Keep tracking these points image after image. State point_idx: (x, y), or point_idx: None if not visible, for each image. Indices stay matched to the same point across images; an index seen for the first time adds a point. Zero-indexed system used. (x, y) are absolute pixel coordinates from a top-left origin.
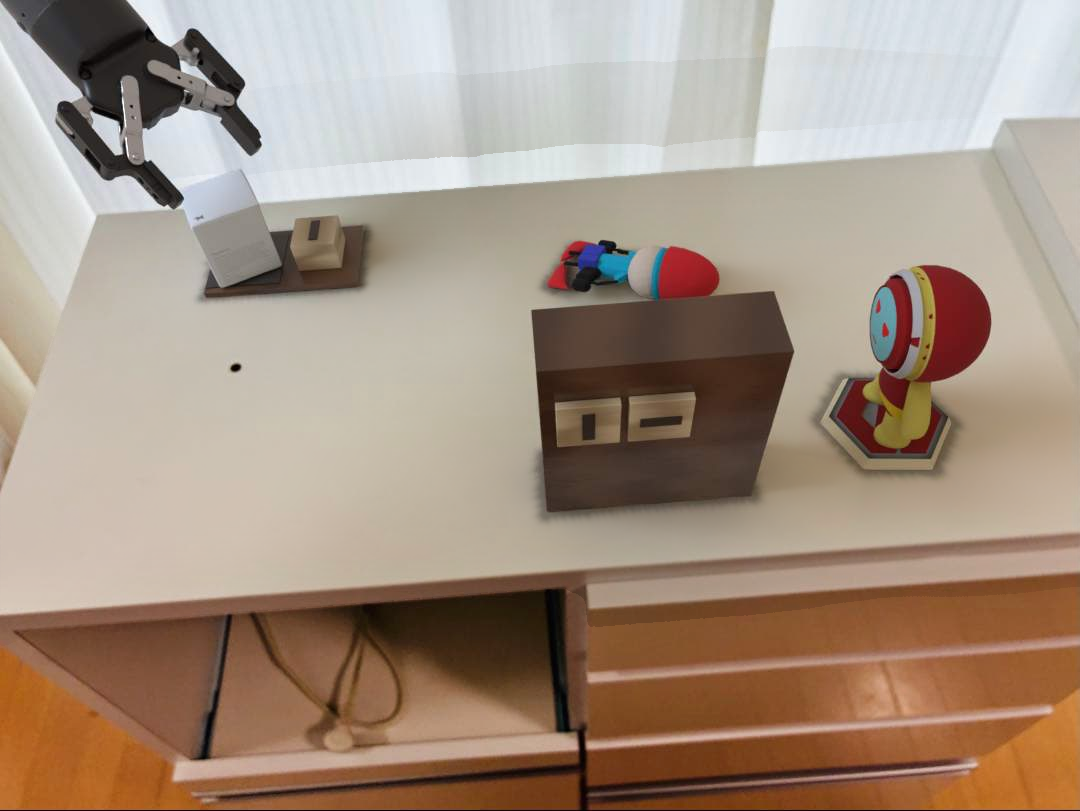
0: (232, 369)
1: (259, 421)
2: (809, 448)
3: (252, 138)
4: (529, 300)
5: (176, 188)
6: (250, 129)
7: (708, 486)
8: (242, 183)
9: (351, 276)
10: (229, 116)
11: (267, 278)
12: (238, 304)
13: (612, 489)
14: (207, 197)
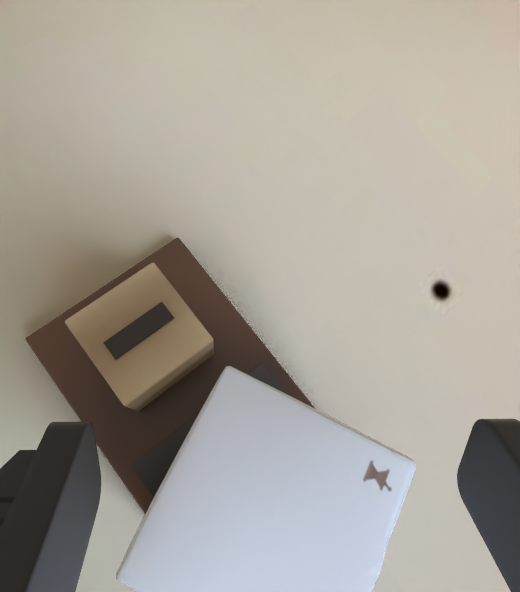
0: (447, 293)
1: (478, 185)
2: None
3: (66, 441)
4: (62, 3)
5: (502, 443)
6: (28, 471)
7: None
8: (178, 495)
9: (170, 253)
10: (31, 584)
11: None
12: (341, 407)
13: None
14: (296, 543)
